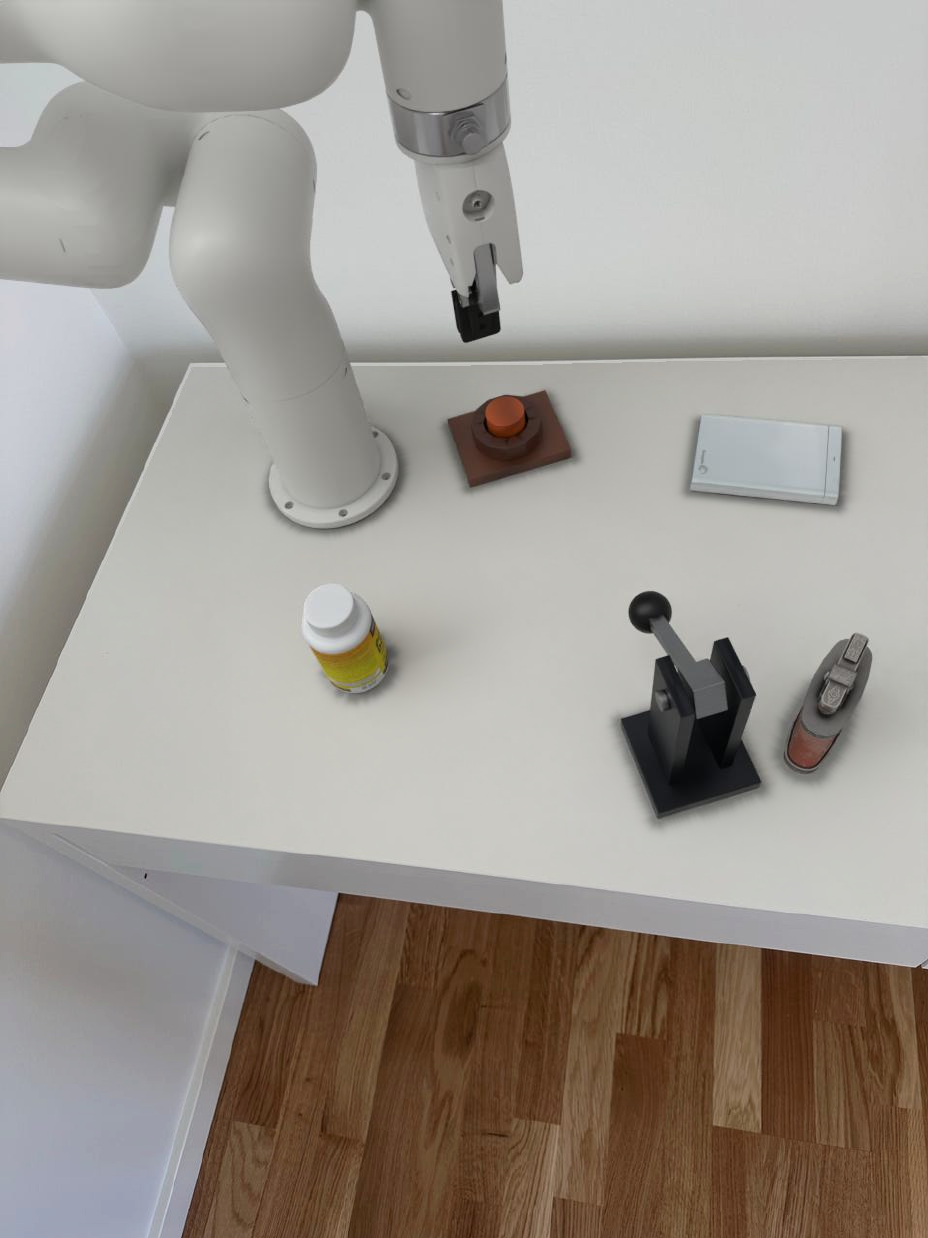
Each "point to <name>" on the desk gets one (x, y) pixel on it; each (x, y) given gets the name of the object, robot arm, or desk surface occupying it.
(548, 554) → the desk surface
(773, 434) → the hard drive
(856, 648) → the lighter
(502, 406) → the button
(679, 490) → the desk surface
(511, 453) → the button block
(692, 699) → the lever
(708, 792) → the bracket
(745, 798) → the desk surface
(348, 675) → the supplement bottle
